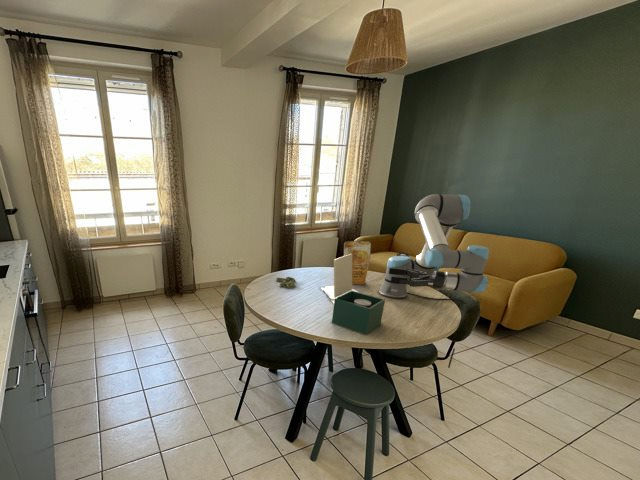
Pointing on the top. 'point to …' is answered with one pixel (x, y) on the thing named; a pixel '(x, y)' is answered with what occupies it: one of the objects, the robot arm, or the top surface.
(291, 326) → the top surface
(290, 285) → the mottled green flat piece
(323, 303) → the top surface
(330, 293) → the tray
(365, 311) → the tote
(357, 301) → the canned food
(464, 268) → the robot arm
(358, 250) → the pancake mix bag
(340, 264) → the lid
